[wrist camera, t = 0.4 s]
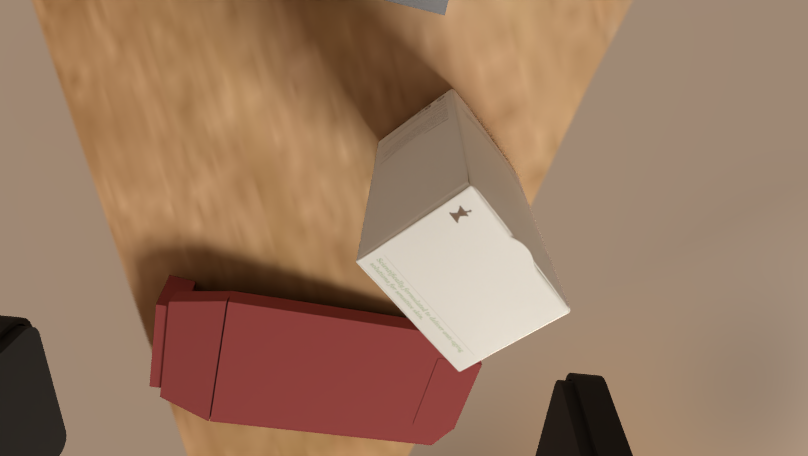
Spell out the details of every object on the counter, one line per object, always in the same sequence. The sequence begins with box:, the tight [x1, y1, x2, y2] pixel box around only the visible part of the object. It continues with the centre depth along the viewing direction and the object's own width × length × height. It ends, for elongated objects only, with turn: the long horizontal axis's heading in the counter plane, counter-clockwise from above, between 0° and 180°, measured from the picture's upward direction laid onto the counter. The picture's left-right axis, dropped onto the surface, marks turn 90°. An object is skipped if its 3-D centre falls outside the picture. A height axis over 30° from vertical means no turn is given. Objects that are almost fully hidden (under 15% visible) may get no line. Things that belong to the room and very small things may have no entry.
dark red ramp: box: [150, 275, 482, 445], centre depth 47 cm, size 12×5×25 cm
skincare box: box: [356, 89, 570, 371], centre depth 32 cm, size 8×7×16 cm
